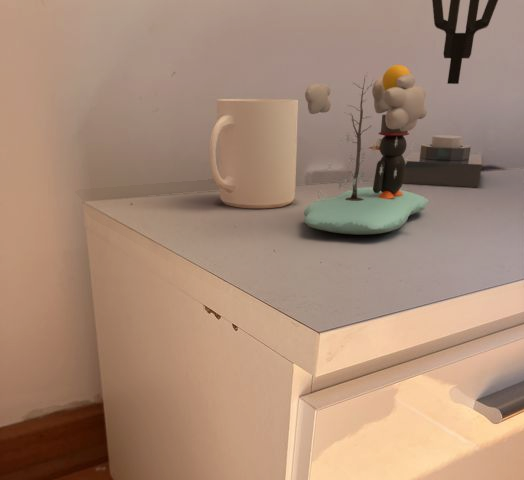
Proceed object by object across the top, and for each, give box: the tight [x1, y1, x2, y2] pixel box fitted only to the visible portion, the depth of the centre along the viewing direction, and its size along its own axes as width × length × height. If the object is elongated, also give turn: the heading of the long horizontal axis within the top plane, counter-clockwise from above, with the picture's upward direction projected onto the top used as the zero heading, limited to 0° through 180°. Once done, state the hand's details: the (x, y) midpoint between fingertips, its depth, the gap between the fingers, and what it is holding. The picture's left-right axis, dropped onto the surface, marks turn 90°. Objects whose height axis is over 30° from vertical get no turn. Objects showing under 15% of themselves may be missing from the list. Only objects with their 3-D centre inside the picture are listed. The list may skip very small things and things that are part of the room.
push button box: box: [403, 142, 483, 188], centre depth 89 cm, size 11×13×5 cm
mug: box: [208, 98, 299, 210], centre depth 68 cm, size 10×12×12 cm
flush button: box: [430, 134, 463, 147], centre depth 88 cm, size 4×4×2 cm
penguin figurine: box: [303, 64, 429, 236], centre depth 58 cm, size 20×11×15 cm, turn 149°
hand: (452, 83), depth 84 cm, fingers closed
